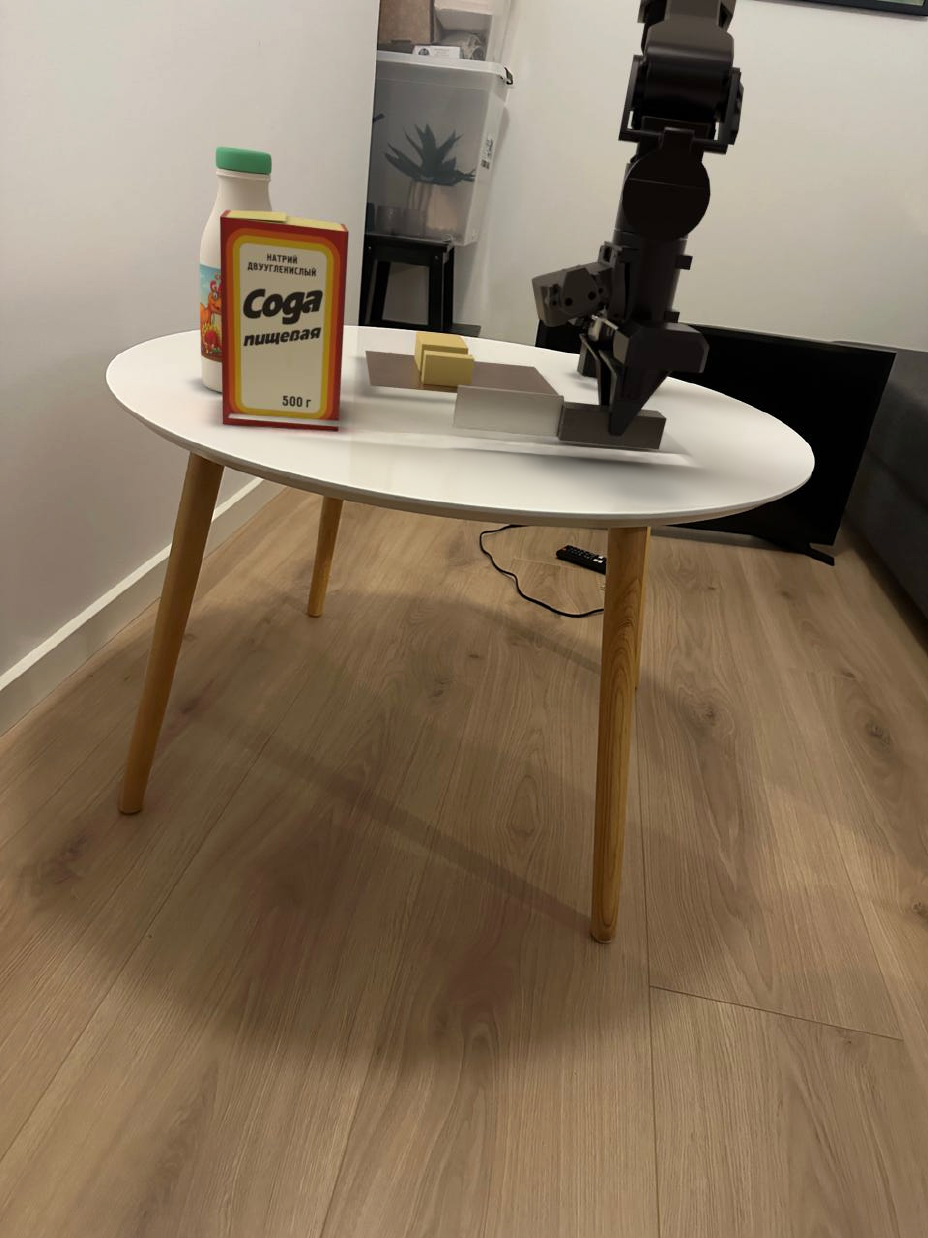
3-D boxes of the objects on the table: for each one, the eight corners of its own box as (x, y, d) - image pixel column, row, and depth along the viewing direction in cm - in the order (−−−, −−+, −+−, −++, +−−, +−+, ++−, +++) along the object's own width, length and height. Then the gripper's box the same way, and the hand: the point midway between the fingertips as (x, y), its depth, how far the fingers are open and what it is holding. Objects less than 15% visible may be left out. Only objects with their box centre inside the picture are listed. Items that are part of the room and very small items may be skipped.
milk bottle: (193, 376, 83) (187, 140, 73) (272, 376, 86) (275, 152, 77) (212, 398, 77) (207, 145, 67) (295, 397, 80) (302, 157, 71)
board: (533, 375, 102) (534, 366, 101) (564, 412, 88) (566, 402, 87) (364, 359, 98) (365, 350, 98) (369, 395, 84) (370, 384, 84)
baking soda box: (335, 410, 78) (344, 218, 71) (338, 431, 73) (349, 226, 65) (227, 402, 76) (225, 204, 69) (222, 423, 71) (219, 210, 63)
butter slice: (468, 384, 89) (472, 354, 88) (471, 388, 88) (474, 358, 86) (421, 379, 88) (424, 350, 87) (422, 383, 87) (425, 353, 86)
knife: (650, 441, 76) (659, 402, 74) (659, 450, 74) (669, 410, 72) (451, 422, 73) (456, 381, 71) (454, 431, 71) (460, 388, 69)
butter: (457, 361, 98) (460, 335, 97) (465, 376, 92) (468, 347, 91) (414, 357, 97) (416, 330, 96) (419, 372, 91) (422, 343, 90)
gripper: (526, 212, 73) (500, 394, 80) (581, 233, 57) (542, 458, 64) (649, 228, 75) (613, 404, 82) (736, 252, 59) (681, 469, 66)
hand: (610, 430), depth 74 cm, fingers closed on knife, 2 cm apart
